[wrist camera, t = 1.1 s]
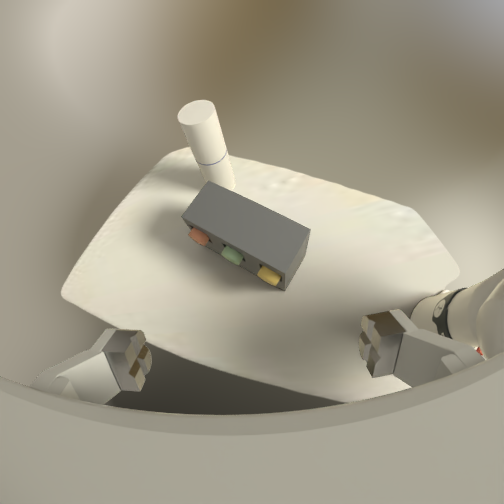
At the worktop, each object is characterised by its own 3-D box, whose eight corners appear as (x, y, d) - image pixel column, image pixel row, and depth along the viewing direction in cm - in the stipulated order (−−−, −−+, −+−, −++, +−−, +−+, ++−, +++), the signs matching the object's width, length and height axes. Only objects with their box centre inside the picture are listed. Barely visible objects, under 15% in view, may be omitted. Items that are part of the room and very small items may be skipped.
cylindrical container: (211, 199, 69) (179, 129, 45) (205, 177, 71) (175, 107, 48) (238, 190, 69) (218, 117, 45) (231, 168, 71) (210, 95, 48)
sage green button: (249, 253, 55) (246, 246, 51) (240, 267, 54) (237, 261, 51) (231, 244, 56) (228, 236, 52) (223, 257, 55) (218, 250, 52)
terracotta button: (215, 235, 57) (211, 227, 53) (207, 248, 56) (201, 241, 53) (200, 227, 58) (195, 218, 55) (191, 239, 57) (185, 231, 54)
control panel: (305, 255, 61) (310, 229, 48) (284, 291, 59) (285, 273, 46) (222, 213, 67) (208, 180, 54) (201, 243, 65) (181, 216, 52)
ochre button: (284, 273, 53) (285, 267, 49) (276, 287, 52) (275, 282, 49) (266, 263, 54) (265, 256, 50) (258, 277, 53) (256, 271, 50)
